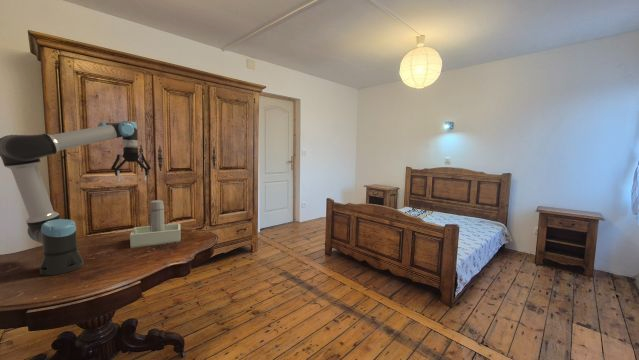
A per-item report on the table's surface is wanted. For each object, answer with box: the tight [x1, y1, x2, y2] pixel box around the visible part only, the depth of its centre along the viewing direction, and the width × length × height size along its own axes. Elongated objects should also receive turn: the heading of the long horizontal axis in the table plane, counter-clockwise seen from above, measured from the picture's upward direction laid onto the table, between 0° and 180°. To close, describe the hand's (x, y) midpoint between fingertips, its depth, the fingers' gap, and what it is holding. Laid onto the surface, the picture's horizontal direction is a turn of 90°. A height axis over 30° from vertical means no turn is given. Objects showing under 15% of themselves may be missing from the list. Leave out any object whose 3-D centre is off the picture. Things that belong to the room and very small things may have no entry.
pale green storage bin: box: [129, 222, 182, 249], centre depth 169 cm, size 26×16×8 cm, turn 118°
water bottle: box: [148, 199, 165, 232], centre depth 168 cm, size 9×8×25 cm
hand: (132, 180), depth 165 cm, fingers open, 13 cm apart
